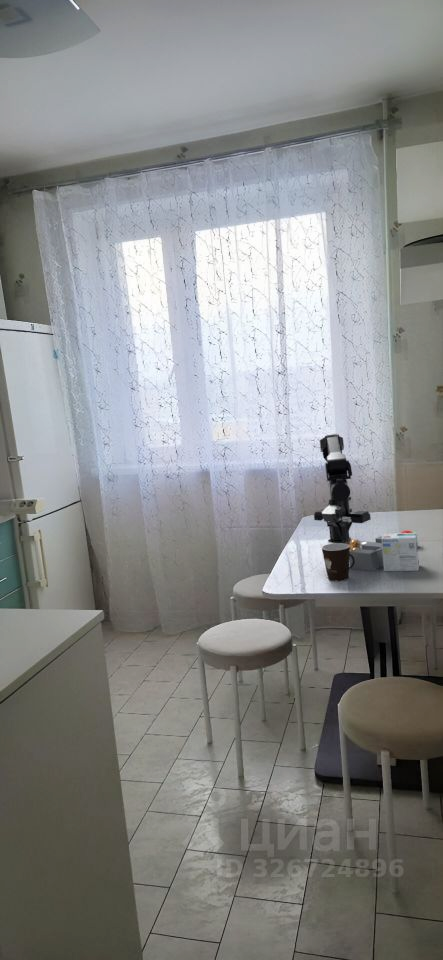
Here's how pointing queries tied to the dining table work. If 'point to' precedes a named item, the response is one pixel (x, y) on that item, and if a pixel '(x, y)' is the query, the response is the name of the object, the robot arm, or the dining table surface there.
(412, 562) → the light bulb box
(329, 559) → the coffee mug
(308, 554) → the dining table surface
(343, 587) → the dining table surface
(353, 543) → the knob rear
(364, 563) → the mount
